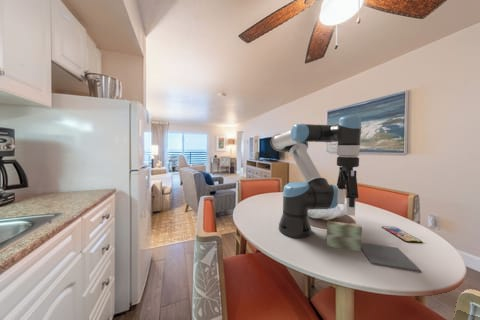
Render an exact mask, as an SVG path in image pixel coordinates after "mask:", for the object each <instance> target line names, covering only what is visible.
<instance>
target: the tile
mask: <svg viewBox="0 0 480 320" xmlns="http://www.w3.org/2000/svg"><path fill="white" fill-rule="evenodd" d="M362 232H363V226H362V225H361V224H358V223H357V224H356V223H348V222H341V221H339V222H338V221H334V220H333V221H331V220H327V224H326V243H325V244H326V246H327V247H331V248H336V249H344V250H350V251H354V252H355V251H357V252H361V251H362V249H361V242H362V234H363V233H362Z"/></svg>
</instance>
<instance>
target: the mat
mask: <svg viewBox="0 0 480 320" xmlns="http://www.w3.org/2000/svg"><path fill="white" fill-rule="evenodd" d="M361 251H362V252H363V253H364V256H366V258H367V260H368V261H369V262H370V265H371V264H372V265H377V266H382V267H387V268H388V267H389V268H393V269H400V270H405V271H412V272H418V273H422V270H421V269H420V268H419V267H418V266H417V265H416V263H414V262H413V261H412V260H411V259H410V258H409V257H408V256H407V254H405V253H404V252H403V251H402V250H401V249H400V248H399V247H394V246H388V245H381V244H375V243H368V242H363V241H361Z"/></svg>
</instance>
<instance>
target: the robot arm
mask: <svg viewBox="0 0 480 320" xmlns="http://www.w3.org/2000/svg"><path fill="white" fill-rule="evenodd" d="M361 131H362V118H361V116H357V115H347V116H342V117H340V118H339V119H338V123H337V124H309V123H308V124H307V123H297V124H294V125H293V126H292V127H291V129H290V130H288V131H285V132H283V133H277V134H275V135H272V137H271V139H270V141H269V142H270V146H271V148H272V149H273V150H275V151H276V152H280V153H288V155H289V156H290V157H292V158H293V159H294V162H295V165H296V166H297V167H298V170H299V173H301V174H300V175H301V177H302V178H303V181H295V182H293V181H291V182H289V183H286V184H285V185H284V187H283V191H282V198H283V199H282V215H281V218H280V220H279V223H278V231H279V232H280V233H281V234H283V235H285V236H288V237H290V238H296V239H304V238H308V237H310V236H311V234H312V226H311V224H310V220H309V210H310V211H311V210H330V209H335V208H336V207H337V206H338V205H345V215H346V216H351V217H352V216H353V217H355V215H356V200H357V199H358V198H359V192H358V191H359V189H358V179H357V172H358V171H357V170H354V168H359V166H360V158H359V157H358V156H360V151H362V148H361V137H362V136H361V135H362V134H361V133H362V132H361ZM310 142H311V143H313V142H314V143H317V142H318V143H337V149H336V151H337V152H336V155H337V157H336V165H337V166H338V167H339V171H338V177H337V182H336V185H335V184H332V183H331V184H329V182H328V179H326V178H325V177H322V176H321V174H320V172H319V171H318V169H317V166H316V165H315V163H314V161H313V160H312V159H311V157H310V155H309V152H308V148H309V143H310ZM346 193H347V195H346ZM345 201H346V202H345Z"/></svg>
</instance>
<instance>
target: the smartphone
mask: <svg viewBox="0 0 480 320" xmlns="http://www.w3.org/2000/svg"><path fill="white" fill-rule="evenodd" d="M381 228H382V229H383V230H385V231H386V232H388V233H390V234H391V235H393V236H395V237H396V238H398V239H399V240H401V241H403V242H405V243H406V244H407V243H408V244H423V240H421V239H419V238H418V237H415V236H413V235H412V234H410V233H408V232H406V231H404V230H403V229H400V228H398V227H396V226H385V225H384V226H381Z"/></svg>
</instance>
